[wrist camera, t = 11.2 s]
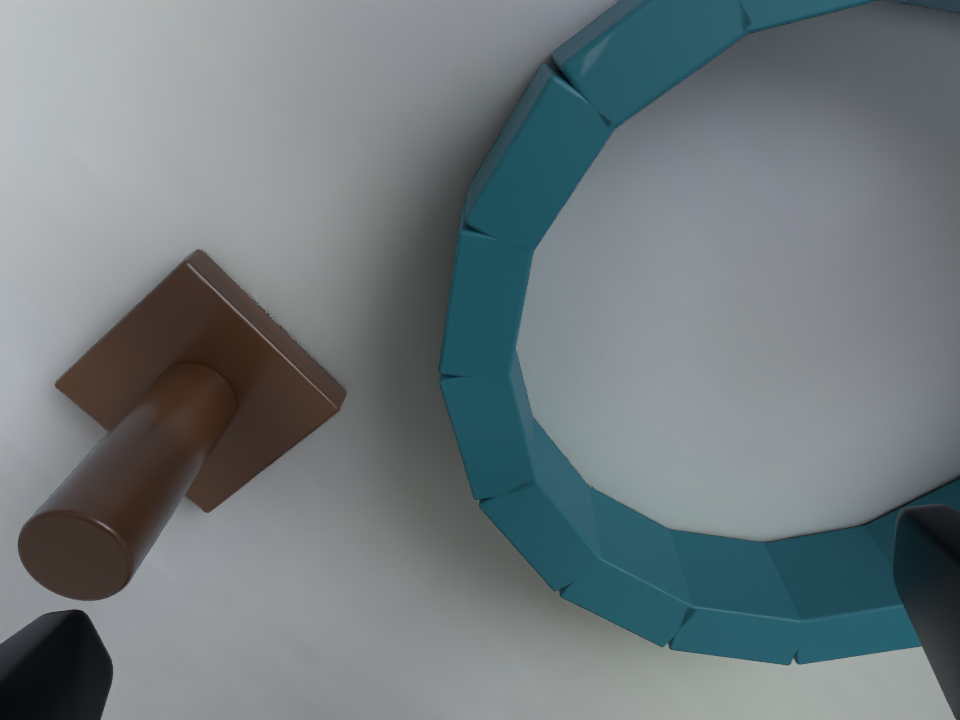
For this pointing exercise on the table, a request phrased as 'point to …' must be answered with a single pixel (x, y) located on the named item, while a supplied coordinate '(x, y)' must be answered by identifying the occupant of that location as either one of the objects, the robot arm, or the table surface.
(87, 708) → the robot arm
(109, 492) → the post
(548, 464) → the ring
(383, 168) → the table surface
